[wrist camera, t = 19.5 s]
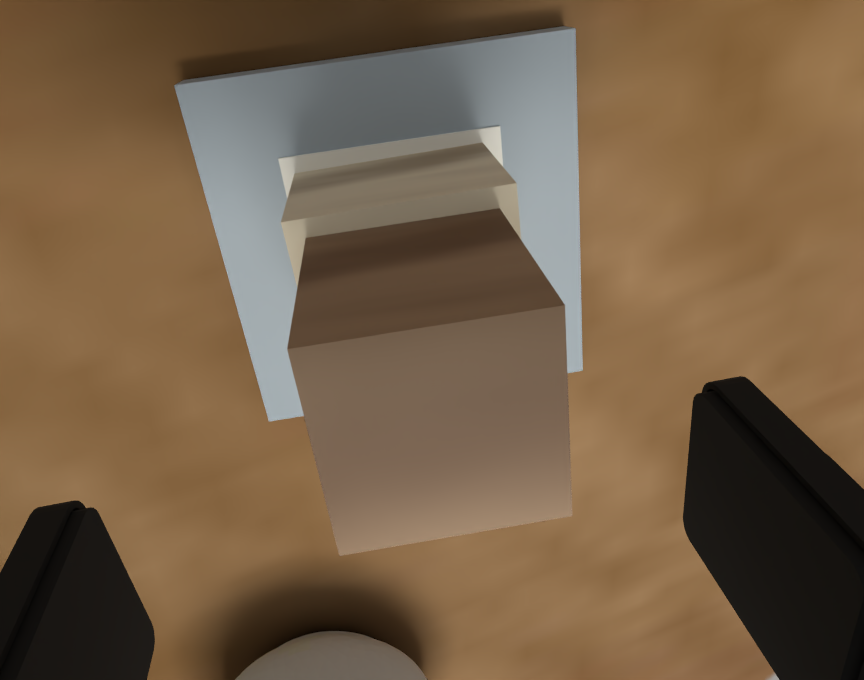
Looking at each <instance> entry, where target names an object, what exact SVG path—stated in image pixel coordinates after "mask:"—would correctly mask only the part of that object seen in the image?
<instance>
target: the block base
mask: <svg viewBox="0 0 864 680" xmlns="http://www.w3.org/2000/svg"><path fill="white" fill-rule="evenodd" d="M498 208H500V209H501V211H502V212H503V214H504V215H505V217H506V218H507V220H508V221H509V223H510V224H511V226H512V227H513V229H514V230H515V231H516V233H517V234H518V236H519V237H520V239H521V230H520V218H519V206H518V193H517V183H516V182H515V180H514V179H513V178H512V177H511V176H510V174H509V173H508V172H507V171H506V170H505V169H504V167H503V166H502V165H501V164H500V163H499V161H498V160H497V159H496V158H495V157H494V155H493V154H492V153H491V152H490V151H489V150H488V148H487V147H486V146H485V145H484V144H483V142H482V143H476V144H470V145H464V146H458V147H452V148H446V149H440V150H434V151H427V152H421V153H415V154H409V155H403V156H397V157H391V158H385V159H379V160H373V161H367V162H361V163H355V164H349V165H343V166H337V167H331V168H325V169H319V170H312V171H306V172H300V173H294V177H293V181H292V184H291V188H290V191H289V195H288V198H287V202H286V205H285V209H284V213H283V216H282V220H281V226H282V230H283V233H284V237H285V241H286V245H287V249H288V253H289V257H290V261H291V265H292V269H293V273H294V277H295V281H296V285H297V287H298V281H299V275H300V269H301V263H302V257H303V251H304V245H305V239H306V238H308V237H315V236H321V235H328V234H334V233H341V232H347V231H354V230H360V229H367V228H374V227H380V226H387V225H393V224H400V223H406V222H413V221H419V220H426V219H432V218H439V217H445V216H452V215H459V214H465V213H472V212H478V211H485V210H491V209H498Z"/></svg>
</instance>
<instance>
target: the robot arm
mask: <svg viewBox="0 0 864 680" xmlns="http://www.w3.org/2000/svg"><path fill="white" fill-rule="evenodd" d="M683 522H684V527H685V531H686V534H687V536H688V538H689V540H690V542H691V543H692V545H693V546H694V548H695V550H696V551H697V553H698V554H699V556H700V557H701V559H702V560H703V562H704V563H705V565H706V567H707V568H708V570H709V571H710V573H711V574H712V576H713V577H714V579H715V581H716V582H717V584H718V585H719V587H720V588H721V590H722V591H723V593H724V594H725V596H726V598H727V599H728V601H729V602H730V604H731V605H732V607H733V608H734V610H735V611H736V613H737V615H738V616H739V618H740V619H741V621H742V622H743V624H744V625H745V627H746V629H747V630H748V632H749V633H750V635H751V636H752V638H753V639H754V641H755V642H756V644H757V646H758V647H759V649H760V650H761V652H762V653H763V655H764V656H765V658H766V660H767V661H768V663H769V664H770V666H771V667H772V669H773V670H774V672H775V673H776V675H777V677H778V678H779V680H864V489H863V488H862V487H861V486H860V485H859V484H858V483H856V482H855V481H854V480H853V479H852V478H851V477H850V476H849V475H848V474H847V473H846V472H845V471H844V470H843V469H842V468H841V467H840V466H839V465H838V464H837V463H836V462H835V461H834V460H833V459H832V458H831V457H829V456H828V455H827V454H825V453H824V452H823V451H822V450H821V449H820V448H819V447H818V446H817V445H816V444H815V443H814V442H813V441H812V440H811V439H810V438H809V437H808V436H807V435H806V434H805V433H804V432H803V431H802V430H800V429H799V428H798V427H797V426H796V425H795V424H794V423H793V422H792V421H791V420H790V419H789V418H788V417H787V416H786V415H785V414H784V413H783V412H782V411H781V410H780V409H779V408H778V407H777V406H776V405H775V404H774V403H773V402H771V401H770V400H769V399H768V398H767V397H766V396H765V395H764V394H763V393H762V392H761V391H760V390H759V389H758V388H757V387H756V386H755V385H754V384H753V383H752V382H751V381H750V380H748V379H747V378H746V377H741V376H740V377H734V378H729V379H724V380H718V381H713V382H708V383H706V384H705V385H704V387H703V390H702V393H699V394H696V395H695V397H694V400H693V408H692V420H691V431H690V443H689V454H688V466H687V477H686V489H685V500H684V512H683ZM154 642H155V637H154V629H153V626H152V623H151V621H150V619H149V616H148V614H147V612H146V610H145V608H144V606H143V604H142V602H141V600H140V598H139V596H138V594H137V592H136V590H135V587H134V585H133V583H132V581H131V579H130V577H129V575H128V573H127V571H126V569H125V567H124V565H123V563H122V561H121V559H120V556H119V554H118V552H117V550H116V548H115V546H114V544H113V542H112V540H111V538H110V536H109V534H108V532H107V530H106V527H105V525H104V523H103V521H102V519H101V517H100V515H99V513H98V512H97V510H96V509H94V508H85V506H84V505H83V504H82V503H81V502H80V501H70V502H65V503H59V504H54V505H48V506H43V507H38V508H36V509H35V510H33V512H32V513H31V515H30V516H29V518H28V520H27V522H26V524H25V526H24V528H23V530H22V532H21V534H20V536H19V538H18V539H17V541H16V543H15V545H14V547H13V549H12V551H11V553H10V555H9V557H8V559H7V561H6V563H5V565H4V567H3V569H2V571H1V572H0V680H147V676H148V672H149V668H150V663H151V659H152V655H153V651H154Z"/></svg>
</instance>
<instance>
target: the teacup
mask: <svg viewBox="0 0 864 680" xmlns="http://www.w3.org/2000/svg"><path fill="white" fill-rule="evenodd" d="M235 680H427V678H426V677H425V675H424V674H423V672H422V671H421V669H420V668H419V667H418V666H417V665H416V663H415V662H414V661H413V660H412V659H410V658H409V657H408V656H407V655H406V654H404V653H403V652H401V651H400V650H398V649H396V648H395V647H393V646H391V645H389V644H387V643H384V642H382V641H379V640H376V639H373V638H371V637H368V636H365V635H362V634H358V633H353V632H345V631H324V632H316V633H312V634H308V635H304V636H301V637H298V638H295V639H293V640H290V641H288V642H286V643H284V644H283V645H281V646H279V647H277V648H276V649H274V650H272V651H270V652H268V653H266V654H265V655H263V656H262V657H260V658H258V659H257V660H256V661H255V662H253V663H252V664H251V665H249V666H248V667H247V668H246V669H245V670H244V671H243V672H242V673H241V674H240V675H239V676H238V677H237V678H236V679H235Z"/></svg>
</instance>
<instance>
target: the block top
mask: <svg viewBox="0 0 864 680" xmlns="http://www.w3.org/2000/svg"><path fill="white" fill-rule="evenodd" d="M287 351H288V355H289V359H290V363H291V367H292V371H293V375H294V379H295V383H296V386H297V390H298V394H299V398H300V402H301V406H302V410H303V414H304V418H305V422H306V426H307V430H308V434H309V438H310V442H311V446H312V450H313V454H314V457H315V461H316V465H317V469H318V473H319V477H320V481H321V485H322V489H323V493H324V497H325V501H326V505H327V509H328V513H329V517H330V521H331V524H332V528H333V532H334V536H335V540H336V544H337V548H338V552H339V556H342V555H348V554H353V553H359V552H365V551H371V550H377V549H383V548H388V547H394V546H400V545H406V544H412V543H418V542H423V541H429V540H435V539H441V538H447V537H453V536H459V535H464V534H470V533H476V532H482V531H488V530H494V529H499V528H505V527H511V526H517V525H523V524H529V523H535V522H540V521H546V520H552V519H558V518H564V517H570V516H572V493H571V463H570V434H569V405H568V376H567V347H566V318H565V304H564V303H563V301H562V300H561V298H560V297H559V295H558V294H557V292H556V291H555V289H554V288H553V286H552V285H551V283H550V282H549V280H548V279H547V278H546V276H545V275H544V273H543V272H542V270H541V269H540V267H539V266H538V264H537V263H536V261H535V260H534V258H533V257H532V255H531V254H530V252H529V251H528V249H527V248H526V246H525V245H524V243H523V242H522V240H521V239H520V237H519V236H518V234H517V233H516V231H515V230H514V229H513V227H512V226H511V224H510V223H509V221H508V220H507V218H506V217H505V215H504V214H503V212H502V211H501V209H500V208H498V209H491V210H485V211H478V212H472V213H465V214H459V215H452V216H445V217H439V218H432V219H426V220H419V221H413V222H406V223H400V224H393V225H387V226H380V227H374V228H367V229H360V230H354V231H347V232H341V233H334V234H328V235H321V236H315V237H308V238H306V239H305V245H304V251H303V257H302V263H301V269H300V275H299V281H298V287H297V293H296V299H295V305H294V311H293V317H292V323H291V329H290V335H289V341H288V347H287Z"/></svg>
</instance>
